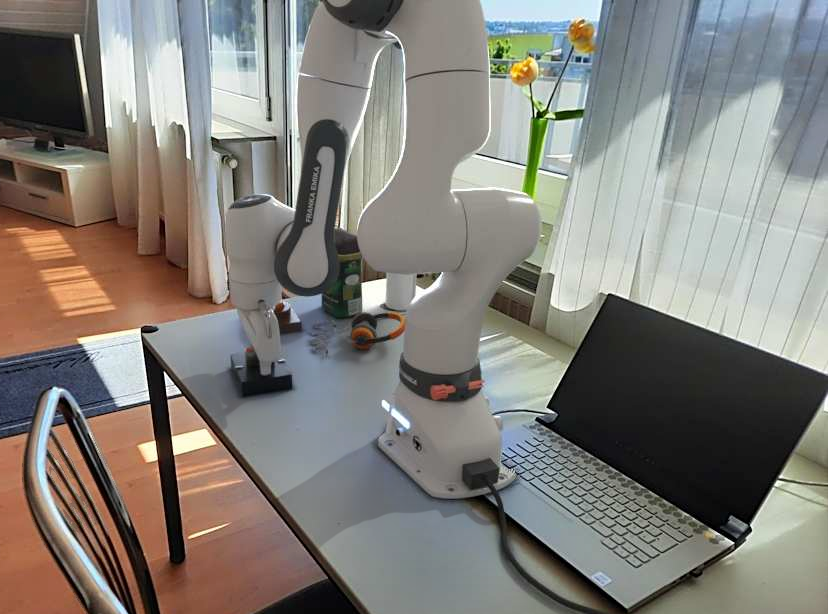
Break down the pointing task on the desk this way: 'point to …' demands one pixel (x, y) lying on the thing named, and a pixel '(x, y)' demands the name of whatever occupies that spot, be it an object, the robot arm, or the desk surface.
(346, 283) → the coffee jar
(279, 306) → the button
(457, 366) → the robot arm
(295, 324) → the button block
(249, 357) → the dial
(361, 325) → the headphones
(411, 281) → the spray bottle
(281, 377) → the dial panel
